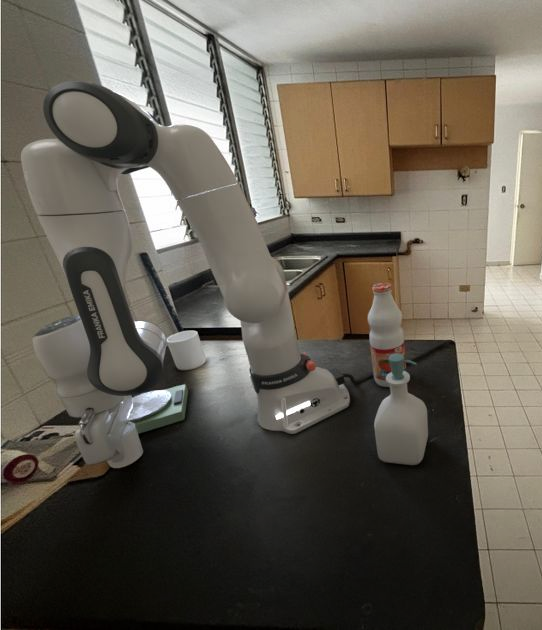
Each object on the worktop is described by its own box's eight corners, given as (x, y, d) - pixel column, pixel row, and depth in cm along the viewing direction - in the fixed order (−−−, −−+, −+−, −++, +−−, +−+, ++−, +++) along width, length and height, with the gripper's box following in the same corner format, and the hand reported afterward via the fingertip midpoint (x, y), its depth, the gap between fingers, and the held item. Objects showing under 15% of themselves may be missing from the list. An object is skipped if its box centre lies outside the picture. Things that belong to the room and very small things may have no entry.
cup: (186, 373, 103) (176, 344, 99) (164, 365, 109) (153, 337, 105) (212, 360, 110) (203, 332, 106) (190, 353, 115) (180, 327, 111)
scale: (188, 391, 94) (184, 381, 93) (184, 419, 83) (180, 409, 82) (116, 411, 87) (111, 401, 86) (101, 445, 76) (96, 434, 75)
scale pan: (173, 386, 91) (173, 385, 91) (168, 411, 82) (168, 409, 81) (118, 401, 86) (117, 400, 86) (106, 429, 76) (104, 427, 76)
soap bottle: (422, 470, 66) (416, 372, 57) (375, 465, 67) (362, 368, 58) (429, 435, 74) (425, 345, 65) (388, 431, 76) (378, 343, 67)
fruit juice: (394, 366, 102) (387, 277, 91) (413, 379, 95) (407, 285, 84) (368, 377, 97) (356, 285, 86) (385, 392, 90) (375, 294, 79)
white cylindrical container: (124, 472, 68) (110, 446, 66) (97, 468, 70) (83, 442, 67) (154, 447, 75) (143, 422, 72) (129, 444, 76) (117, 419, 73)
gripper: (101, 420, 59) (131, 477, 64) (126, 368, 75) (148, 417, 81) (53, 434, 56) (88, 492, 62) (90, 377, 73) (115, 427, 78)
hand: (122, 449), depth 71 cm, fingers closed on white cylindrical container, 5 cm apart
